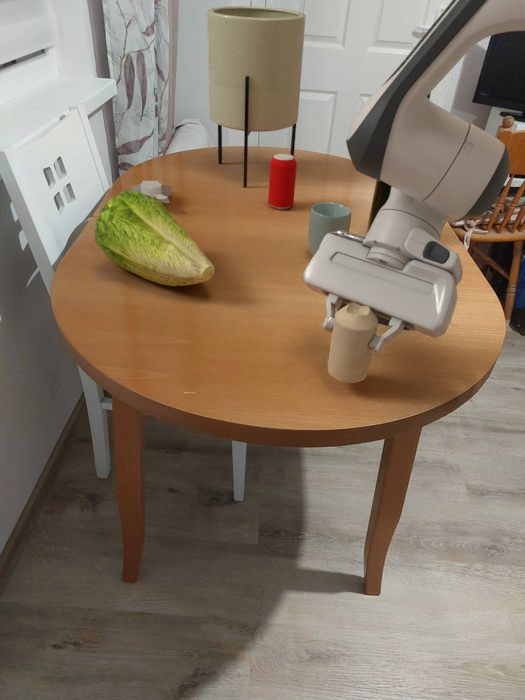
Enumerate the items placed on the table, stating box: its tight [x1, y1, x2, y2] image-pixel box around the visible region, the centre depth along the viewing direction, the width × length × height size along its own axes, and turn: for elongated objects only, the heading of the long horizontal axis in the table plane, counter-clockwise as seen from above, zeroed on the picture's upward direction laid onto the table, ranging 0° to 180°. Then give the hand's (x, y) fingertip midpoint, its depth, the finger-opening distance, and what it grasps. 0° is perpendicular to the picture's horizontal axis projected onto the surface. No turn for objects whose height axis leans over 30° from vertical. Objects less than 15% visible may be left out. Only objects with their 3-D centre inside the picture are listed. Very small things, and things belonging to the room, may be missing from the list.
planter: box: [206, 5, 307, 188], centre depth 135 cm, size 23×24×39 cm
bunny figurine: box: [130, 180, 172, 205], centre depth 123 cm, size 10×5×15 cm
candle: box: [327, 302, 379, 384], centre depth 68 cm, size 6×6×10 cm
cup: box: [307, 201, 352, 257], centre depth 102 cm, size 8×8×10 cm
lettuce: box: [94, 189, 215, 287], centre depth 91 cm, size 14×24×15 cm
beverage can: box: [267, 153, 298, 211], centre depth 123 cm, size 6×6×12 cm
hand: (350, 340), depth 67 cm, fingers closed on candle, 5 cm apart
